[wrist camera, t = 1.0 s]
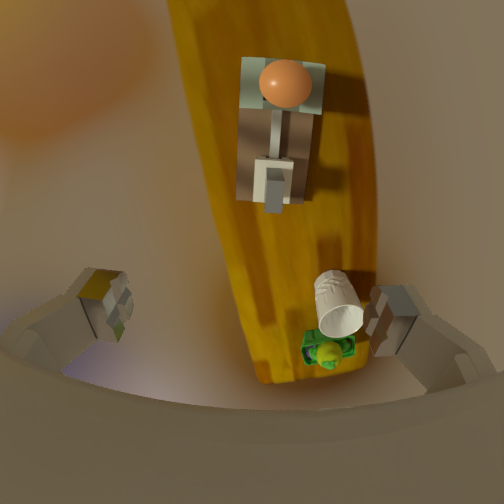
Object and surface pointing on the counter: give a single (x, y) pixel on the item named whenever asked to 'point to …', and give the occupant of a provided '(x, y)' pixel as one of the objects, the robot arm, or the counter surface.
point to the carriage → (272, 182)
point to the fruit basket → (326, 349)
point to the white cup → (337, 305)
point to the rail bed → (275, 128)
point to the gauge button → (285, 83)
